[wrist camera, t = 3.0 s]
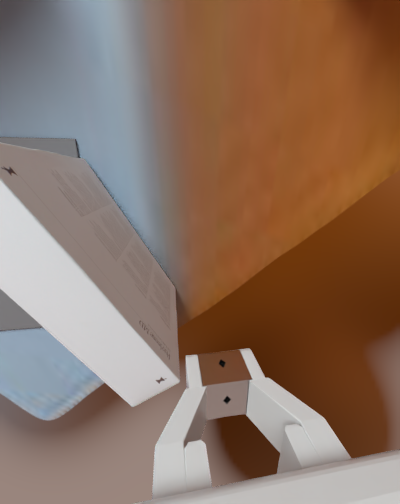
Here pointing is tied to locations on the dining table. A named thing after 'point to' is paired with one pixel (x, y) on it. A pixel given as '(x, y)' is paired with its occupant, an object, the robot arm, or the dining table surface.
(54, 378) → the dining table surface
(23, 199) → the skincare box
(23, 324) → the mat
